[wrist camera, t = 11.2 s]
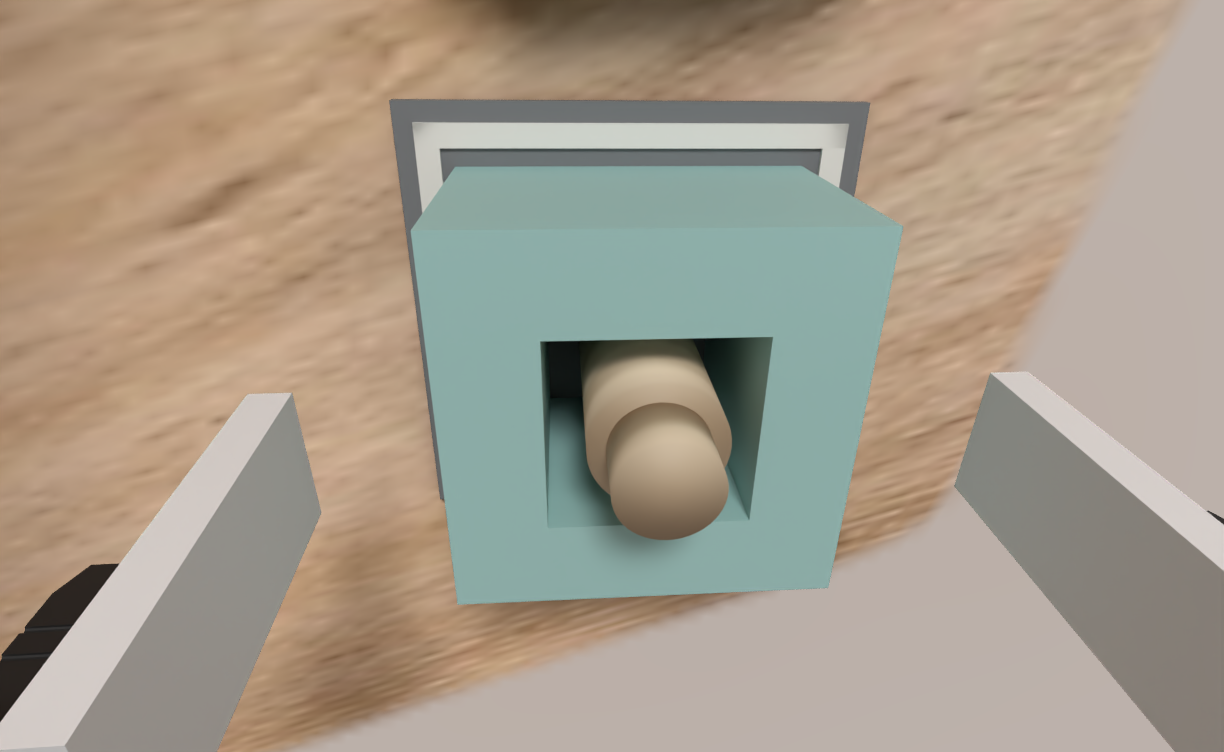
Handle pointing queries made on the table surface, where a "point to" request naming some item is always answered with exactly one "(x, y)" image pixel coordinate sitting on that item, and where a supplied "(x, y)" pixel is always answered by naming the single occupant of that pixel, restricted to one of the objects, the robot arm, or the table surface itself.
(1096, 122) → the table surface
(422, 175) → the mat
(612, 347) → the post
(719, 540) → the block with square hole
